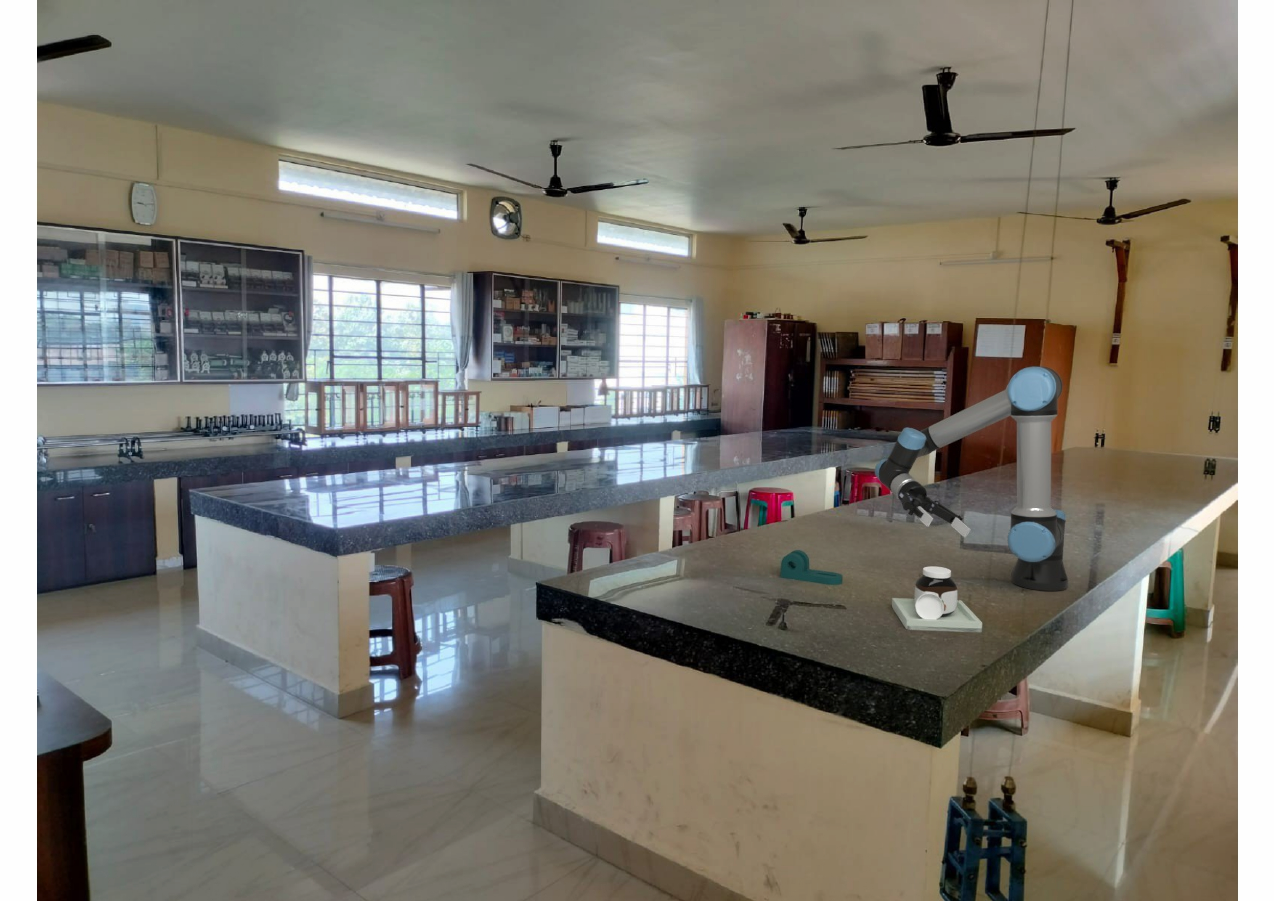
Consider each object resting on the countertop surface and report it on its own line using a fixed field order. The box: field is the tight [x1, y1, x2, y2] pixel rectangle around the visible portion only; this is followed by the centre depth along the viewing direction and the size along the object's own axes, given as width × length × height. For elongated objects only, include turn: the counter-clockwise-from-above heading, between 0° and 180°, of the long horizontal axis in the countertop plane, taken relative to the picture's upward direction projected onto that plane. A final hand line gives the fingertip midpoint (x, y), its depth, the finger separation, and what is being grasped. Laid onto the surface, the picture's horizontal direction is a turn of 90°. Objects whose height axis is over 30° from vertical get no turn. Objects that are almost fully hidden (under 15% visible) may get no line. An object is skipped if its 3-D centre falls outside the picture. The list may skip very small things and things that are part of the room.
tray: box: [891, 597, 983, 633], centre depth 205 cm, size 18×18×2 cm
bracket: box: [780, 549, 843, 586], centre depth 242 cm, size 18×7×8 cm, turn 60°
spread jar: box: [914, 565, 958, 619], centre depth 205 cm, size 12×11×12 cm
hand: (948, 528), depth 219 cm, fingers open, 13 cm apart
